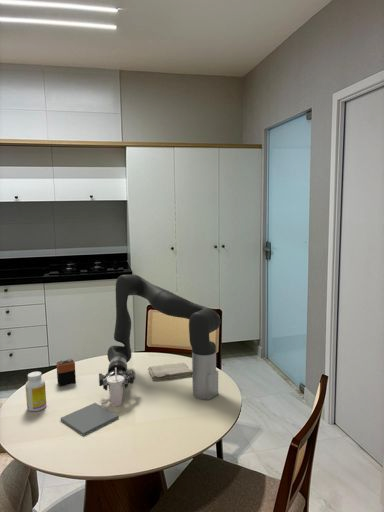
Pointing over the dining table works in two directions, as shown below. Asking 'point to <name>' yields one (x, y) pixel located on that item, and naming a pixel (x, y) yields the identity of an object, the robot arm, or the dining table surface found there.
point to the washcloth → (169, 371)
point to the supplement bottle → (35, 392)
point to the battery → (66, 372)
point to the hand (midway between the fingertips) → (115, 387)
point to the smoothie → (116, 388)
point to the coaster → (89, 418)
